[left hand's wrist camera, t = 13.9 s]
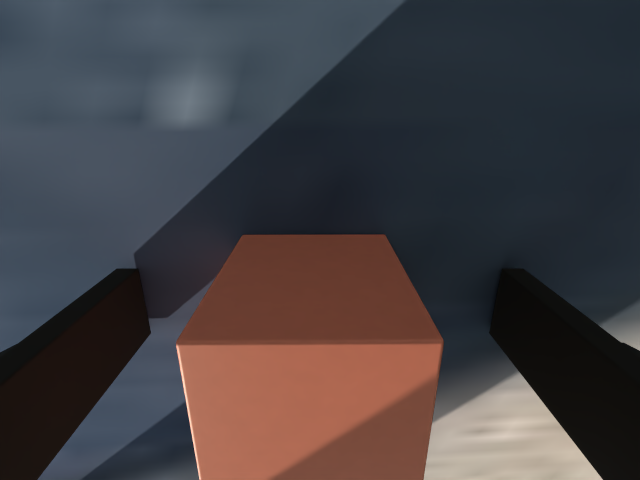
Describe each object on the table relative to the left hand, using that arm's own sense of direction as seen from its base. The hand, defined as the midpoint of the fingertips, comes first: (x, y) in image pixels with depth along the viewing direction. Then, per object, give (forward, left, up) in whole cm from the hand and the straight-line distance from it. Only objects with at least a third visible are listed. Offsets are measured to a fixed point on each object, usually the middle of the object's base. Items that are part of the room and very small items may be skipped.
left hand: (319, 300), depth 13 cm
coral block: (0, 0, 0) cm, 0 cm away
